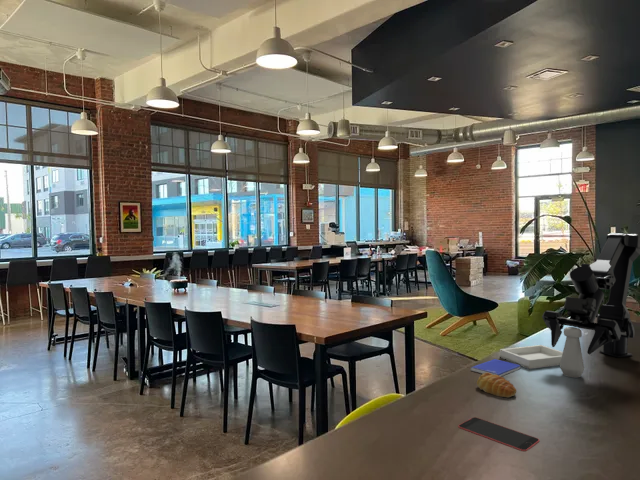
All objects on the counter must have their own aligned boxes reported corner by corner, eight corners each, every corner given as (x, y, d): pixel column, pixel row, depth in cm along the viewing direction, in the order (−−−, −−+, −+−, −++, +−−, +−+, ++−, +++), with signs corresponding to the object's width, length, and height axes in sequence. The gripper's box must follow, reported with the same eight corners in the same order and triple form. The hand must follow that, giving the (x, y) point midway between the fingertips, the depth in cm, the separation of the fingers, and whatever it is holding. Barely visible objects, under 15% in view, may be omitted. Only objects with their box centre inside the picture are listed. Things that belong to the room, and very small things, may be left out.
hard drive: (498, 373, 123) (520, 364, 131) (470, 366, 129) (493, 358, 138) (498, 379, 123) (520, 370, 131) (470, 372, 130) (493, 363, 138)
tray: (540, 352, 147) (540, 344, 147) (572, 363, 136) (572, 355, 136) (499, 357, 142) (499, 349, 142) (528, 369, 131) (529, 360, 130)
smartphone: (525, 451, 83) (456, 425, 93) (525, 454, 83) (456, 428, 93) (541, 439, 88) (474, 416, 98) (541, 442, 88) (474, 418, 98)
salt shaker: (555, 372, 128) (556, 325, 127) (574, 371, 128) (575, 325, 128) (568, 379, 122) (569, 330, 122) (588, 378, 123) (589, 330, 122)
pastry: (523, 396, 111) (523, 380, 110) (503, 401, 107) (504, 385, 107) (492, 384, 119) (492, 369, 119) (473, 388, 116) (473, 373, 116)
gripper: (545, 282, 134) (526, 325, 128) (618, 290, 120) (600, 338, 113) (557, 306, 139) (539, 349, 133) (628, 316, 125) (611, 364, 118)
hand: (570, 349), depth 124 cm, fingers open, 9 cm apart
